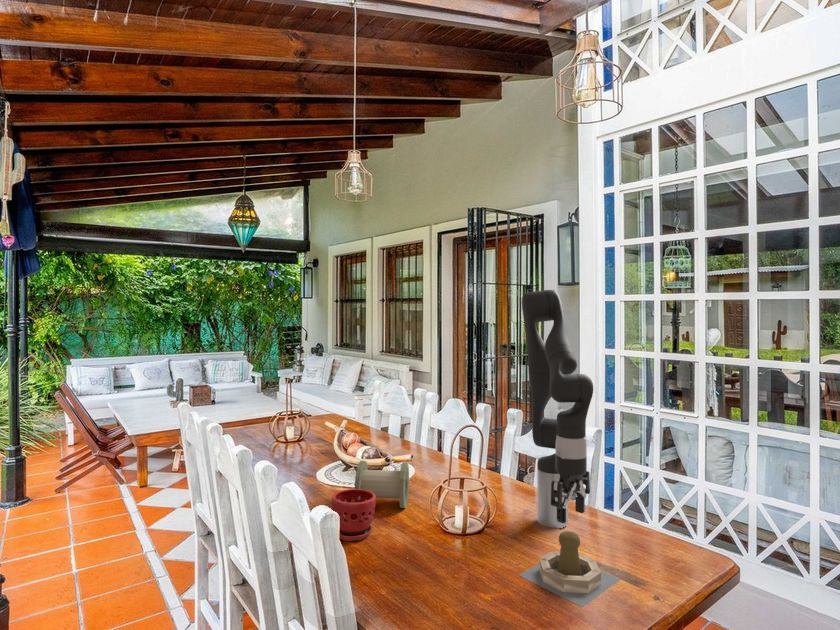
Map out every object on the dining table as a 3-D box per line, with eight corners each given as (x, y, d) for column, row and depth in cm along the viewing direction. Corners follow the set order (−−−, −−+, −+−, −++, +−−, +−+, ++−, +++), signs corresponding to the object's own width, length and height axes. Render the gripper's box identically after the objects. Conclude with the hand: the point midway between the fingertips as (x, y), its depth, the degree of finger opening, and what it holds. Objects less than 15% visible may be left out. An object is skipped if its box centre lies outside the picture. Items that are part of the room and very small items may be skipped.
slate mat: (558, 554, 138) (558, 552, 138) (621, 581, 125) (621, 578, 125) (518, 577, 127) (518, 575, 127) (582, 609, 113) (582, 607, 113)
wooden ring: (560, 557, 136) (561, 546, 136) (609, 578, 125) (609, 566, 125) (529, 575, 126) (529, 563, 126) (579, 599, 116) (579, 587, 116)
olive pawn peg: (562, 567, 130) (563, 526, 130) (585, 575, 126) (585, 532, 126) (552, 577, 126) (553, 534, 125) (576, 585, 122) (576, 541, 122)
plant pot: (368, 546, 143) (368, 504, 143) (325, 542, 146) (325, 501, 146) (380, 527, 156) (380, 488, 156) (340, 523, 159) (340, 485, 158)
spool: (409, 498, 180) (409, 456, 180) (403, 515, 165) (403, 470, 165) (364, 496, 181) (364, 455, 181) (354, 513, 166) (354, 468, 166)
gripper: (573, 444, 133) (572, 504, 133) (541, 455, 123) (541, 520, 124) (599, 450, 127) (599, 513, 127) (568, 462, 118) (568, 530, 118)
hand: (570, 517), depth 126 cm, fingers open, 8 cm apart
